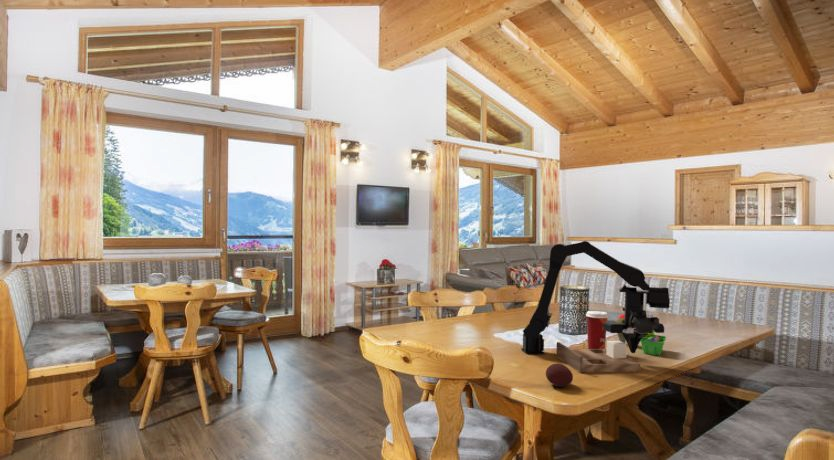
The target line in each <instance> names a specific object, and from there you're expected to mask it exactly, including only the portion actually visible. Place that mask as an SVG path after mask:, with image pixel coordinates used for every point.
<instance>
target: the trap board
mask: <svg viewBox="0 0 834 460" xmlns="http://www.w3.org/2000/svg"><path fill="white" fill-rule="evenodd" d="M555 356H556V357H557V359H559V360H560V361H562V362H564V363H565V364H567V365H568V366H569V367H571V368H572V369H574V370H575V371H577V372H578V373H580V374H581V373H588V374H589V373H625V372H626V373H629V372H630V371H633V372H641V363H640V362H637V361H636V360H634V359H632V358H630V357H628V356H626V358H612V357H611V356H609V355H607V354H606V348H605V349H588V348H586V349H585V348H582V349H577V348H576V349H571V348H569V347H568V346H566V345H565V344H563V343H561V342H559V341H556V355H555Z"/></svg>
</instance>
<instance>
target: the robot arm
mask: <svg viewBox="0 0 834 460" xmlns="http://www.w3.org/2000/svg"><path fill="white" fill-rule="evenodd" d="M580 254H586V255H587V256H589V257H591V258H592V259H593V260H596V262H598V263H600V264H602V265H603V266H605V267H606V268H608V269H610V270H612V271H613V272H615V274H617V276H619V277H620V278H621V279H622V280H623V281H625V282H626V284H628V285H629V286H627V285H626V284H623V285H622V287H620V288H619V290H618V291H619V292H620V293H624V307H622V311H623V312H624V314H625V316H624V320H622V323H624V324H620V323H617V322H616V320H615V321H607V322H605V323H604V324H603V330H605V331H606V332H607V333H610V334H617V333H622V334H623V336H624V338H625V343H626V344H627V346H628V348H629V351H630V353H632V354H635V353H636V352H637V349H638V347H639V344H640V343H641V342H640V341H641V339H642V338H643V337H644V336H646V335H648V334H647V333H653V330H654V331H655V332H654V333H655V334H656V333H657V334H664V333H665V326H664V324H663V323H661V322H660V319H659V318H658V317H657V316H651V317H648V316H647V310H646V309H645V310H644V305H648V307H649V308H657V309H670V303H671V302H670V293H669V287H667V286H663V287H662V286H661V287H657V286H656V287H655V286H650V284H649V283H647V282H646V280H645V279H646V277H645V274H644V272H643V271H642V270H641V269H639V268H638V267H635V266H633V265H630V264H628V263H624V262H622V261H620V260H619V259H617V258H615V257H613V256H611V255H609V254H608V253H606V252H604V251H603V250H601V249H599V247H597V246H595V245H593V244H591V242H589V241H587V240H583V241H580V242H576V243H570V244H564V243H557V244H555V245H553V246H552V247H551V249H550V253H549V255H550V256H549V263H548V264H549V266H548V272H547V275H546V278H545V282H544V285H543V288H542V291H541V295H540V298H539V301H538V304H537V306H536V309H535V310H534V312H533V313H532V317H531V318H530V320H529V323H528V324H527V325H526V326H525V327H524V328H523V330H522V347H520V350H521V351H523V352H524V353H525V354H526V355H541V354H542V355H543V354H545V352H544V350H545V339H544V338H543V336H544V335H543V334H542V332H544V331H545V330H546V328H548V327H549V326H550V325H551V321H550V320H551V318H552V316H553V312H550V305H551V302H552V300H553V295H554V293H555V289H556V285H557V283H558V279H559V276H560V273H561V272H560V271H561V270H562V268H563V266H564V264H565V262H566V261H567V258H568V257H570V256H575V255H580ZM637 287H639V288H640V289H641V290H639V289H637ZM644 298H645V299H644ZM644 301H645V304H644Z"/></svg>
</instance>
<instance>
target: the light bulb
mask: <svg viewBox="0 0 834 460" xmlns="http://www.w3.org/2000/svg"><path fill="white" fill-rule="evenodd" d="M622 320H624V318H619V317H618V318H617V319H616V320H615V322H617V323H620V324H624V323H622ZM616 334H617V338H618V341H621V342H623V343H625V344H626V340H625V338H624V336H623V334H622V333H616Z"/></svg>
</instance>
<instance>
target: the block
mask: <svg viewBox="0 0 834 460" xmlns="http://www.w3.org/2000/svg"><path fill="white" fill-rule="evenodd" d="M627 346H628V344H627V343H626V342H625V343H623V342H621V341H619V340H606V347H605V349H606V354H607V355H609V356H611V357H612V358H626V357H627Z"/></svg>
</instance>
